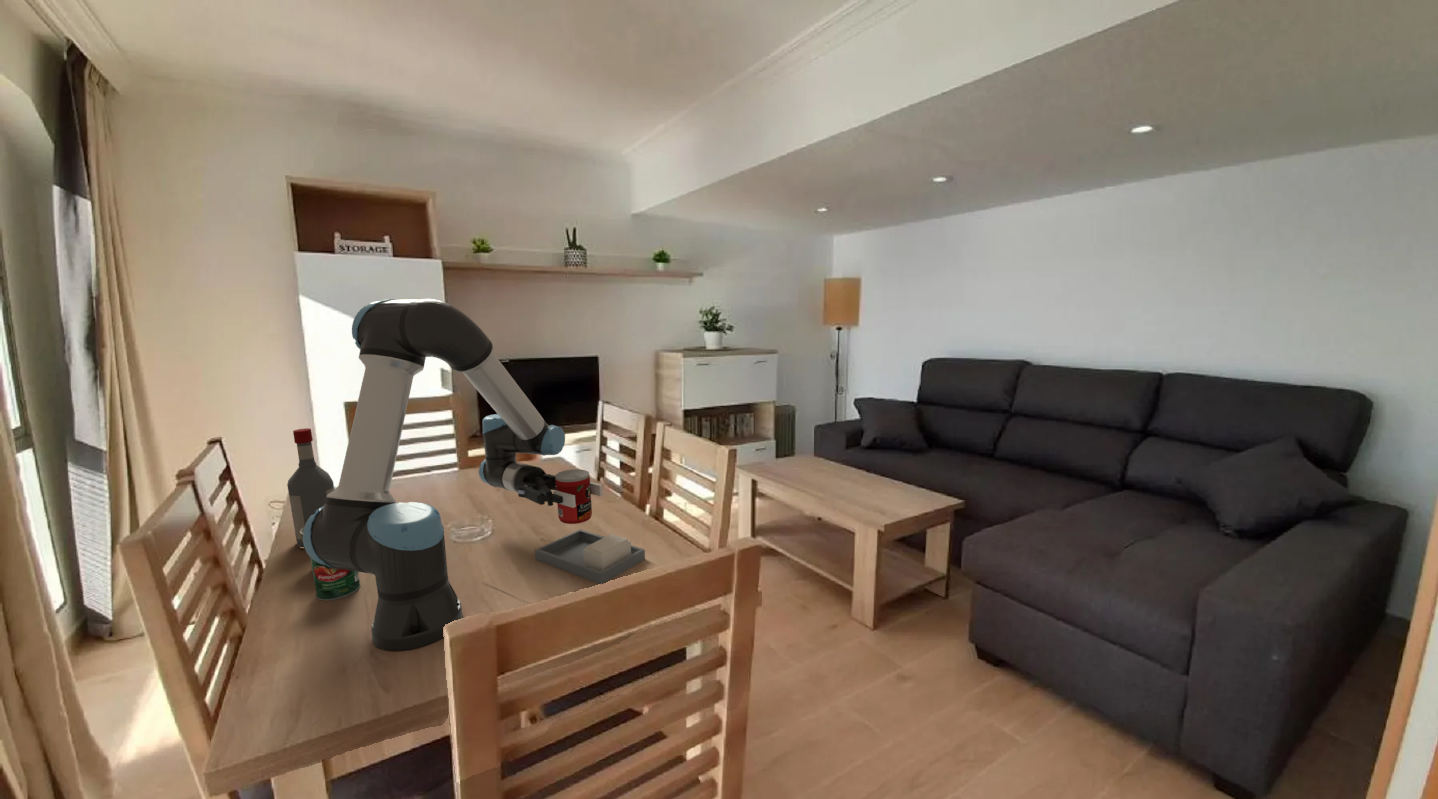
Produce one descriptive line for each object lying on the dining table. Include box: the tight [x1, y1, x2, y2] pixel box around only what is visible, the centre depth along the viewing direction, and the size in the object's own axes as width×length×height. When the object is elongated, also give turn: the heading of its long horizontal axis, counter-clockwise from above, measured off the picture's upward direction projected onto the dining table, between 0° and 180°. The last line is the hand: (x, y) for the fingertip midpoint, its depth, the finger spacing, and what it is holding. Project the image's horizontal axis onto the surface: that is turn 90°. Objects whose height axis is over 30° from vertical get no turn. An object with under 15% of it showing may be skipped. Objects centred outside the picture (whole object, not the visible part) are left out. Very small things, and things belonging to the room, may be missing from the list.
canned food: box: [555, 468, 593, 525], centre depth 130 cm, size 8×8×11 cm
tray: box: [534, 529, 646, 585], centre depth 129 cm, size 22×14×3 cm, turn 56°
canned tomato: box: [309, 557, 361, 601], centre depth 117 cm, size 8×8×11 cm
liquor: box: [286, 427, 335, 548], centre depth 141 cm, size 9×9×30 cm
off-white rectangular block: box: [583, 533, 632, 571], centre depth 126 cm, size 6×9×6 cm, turn 146°
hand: (587, 495), depth 127 cm, fingers closed on canned food, 8 cm apart
